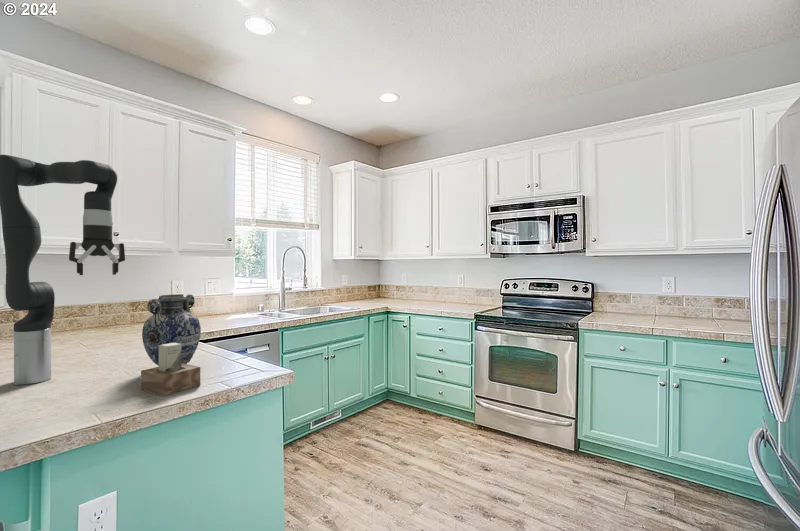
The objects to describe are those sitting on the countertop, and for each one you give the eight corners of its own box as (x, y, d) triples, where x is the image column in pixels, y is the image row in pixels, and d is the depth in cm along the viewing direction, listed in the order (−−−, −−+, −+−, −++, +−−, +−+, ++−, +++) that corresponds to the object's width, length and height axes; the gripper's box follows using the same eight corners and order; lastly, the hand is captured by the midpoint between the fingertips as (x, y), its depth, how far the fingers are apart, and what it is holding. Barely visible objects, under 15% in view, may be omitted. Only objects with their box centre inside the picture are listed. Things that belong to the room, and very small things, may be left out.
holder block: (162, 396, 118) (162, 376, 118) (141, 389, 124) (140, 370, 124) (200, 385, 128) (200, 367, 128) (178, 379, 134) (178, 362, 134)
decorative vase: (172, 380, 133) (171, 297, 133) (126, 378, 137) (124, 297, 137) (214, 365, 154) (213, 292, 154) (173, 363, 157) (172, 292, 157)
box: (165, 387, 123) (165, 346, 123) (157, 385, 125) (157, 345, 125) (182, 383, 127) (182, 343, 127) (174, 381, 129) (174, 342, 129)
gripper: (122, 226, 135) (122, 274, 136) (68, 223, 126) (68, 275, 126) (126, 225, 130) (126, 274, 130) (70, 222, 120) (70, 275, 120)
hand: (97, 274), depth 128 cm, fingers open, 8 cm apart
